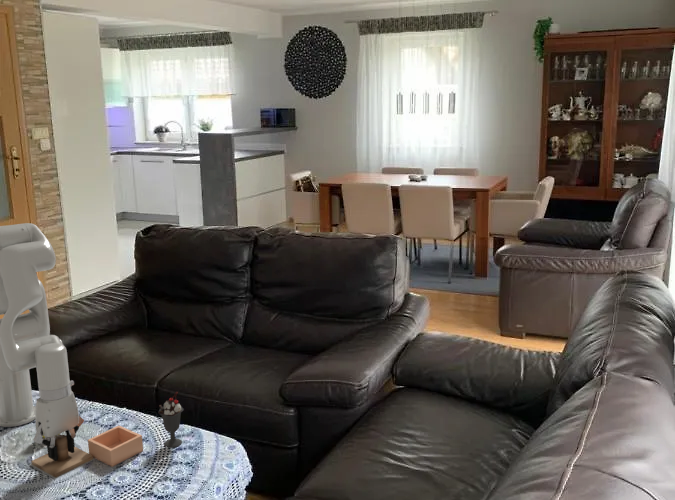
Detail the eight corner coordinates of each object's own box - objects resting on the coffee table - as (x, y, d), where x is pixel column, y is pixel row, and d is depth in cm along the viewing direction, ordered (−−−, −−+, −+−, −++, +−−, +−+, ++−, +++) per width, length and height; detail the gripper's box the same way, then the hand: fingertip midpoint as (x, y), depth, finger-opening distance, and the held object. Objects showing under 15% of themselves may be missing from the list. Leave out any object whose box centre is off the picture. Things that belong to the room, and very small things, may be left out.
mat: (29, 465, 178) (28, 464, 178) (69, 447, 187) (69, 445, 187) (55, 480, 171) (54, 479, 171) (96, 460, 180) (95, 458, 180)
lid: (31, 464, 178) (28, 440, 176) (69, 446, 187) (66, 423, 185) (55, 477, 172) (52, 452, 170) (93, 458, 180) (90, 435, 179)
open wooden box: (89, 456, 182) (87, 439, 181) (120, 441, 190) (118, 425, 189) (112, 468, 176) (110, 450, 175) (143, 452, 184) (141, 435, 183)
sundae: (190, 440, 191) (187, 391, 187) (175, 451, 185) (171, 400, 181) (171, 435, 193) (168, 387, 190) (156, 446, 187) (152, 396, 184)
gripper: (75, 377, 183) (81, 438, 187) (16, 399, 170) (24, 464, 174) (92, 383, 179) (97, 446, 183) (32, 406, 166) (40, 473, 170)
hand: (61, 454), depth 179 cm, fingers open, 4 cm apart
